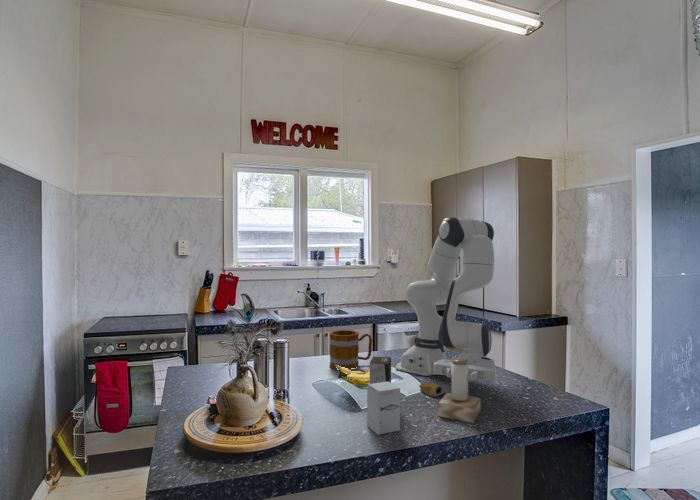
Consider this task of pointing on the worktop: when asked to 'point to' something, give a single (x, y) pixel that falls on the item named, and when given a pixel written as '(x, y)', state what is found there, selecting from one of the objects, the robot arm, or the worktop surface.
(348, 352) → the mug
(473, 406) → the riser
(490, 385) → the worktop surface
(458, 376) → the spice jar
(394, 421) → the supplement box
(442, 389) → the pastry
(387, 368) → the coffee box
